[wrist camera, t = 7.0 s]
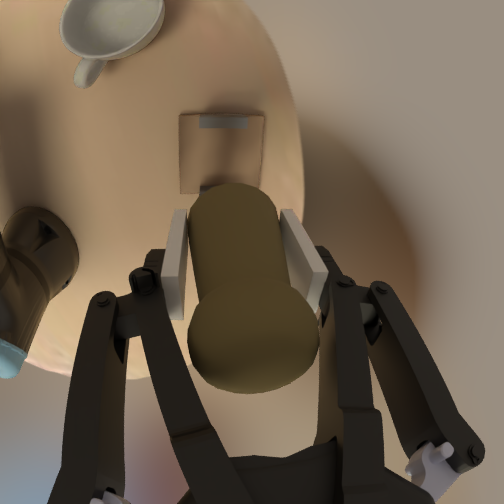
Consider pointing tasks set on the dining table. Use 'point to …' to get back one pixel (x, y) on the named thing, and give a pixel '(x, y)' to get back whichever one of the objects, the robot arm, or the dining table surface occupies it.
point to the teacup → (107, 32)
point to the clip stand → (219, 150)
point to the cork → (245, 295)
